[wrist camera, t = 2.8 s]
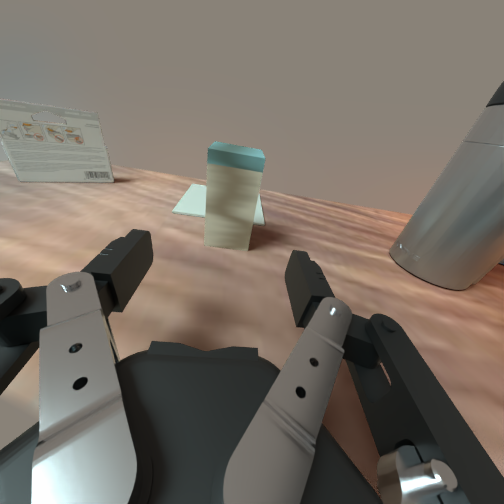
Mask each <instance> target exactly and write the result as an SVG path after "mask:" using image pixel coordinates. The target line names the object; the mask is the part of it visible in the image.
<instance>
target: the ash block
mask: <svg viewBox="0 0 504 504" xmlns="http://www.w3.org/2000/svg"><path fill="white" fill-rule="evenodd" d="M207 161H208V162H207V185H206V210H205V235H204V246H210V247H219V248H227V249H235V250H243V251H248V247H249V242H250V237H251V231H252V226H253V221H254V216H255V210H256V205H257V200H258V195H259V189H260V183H261V179H262V173H263V168H264V163H265V157H264V155H263V152H262V150H258V149H253V148H248V147H243V146H237V145H232V144H226V143H221V142H216V141H215V142H214V143H213V144H212V145H211V146H210V147H209V148H208V160H207Z"/></svg>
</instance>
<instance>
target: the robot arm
mask: <svg viewBox="0 0 504 504" xmlns="http://www.w3.org/2000/svg"><path fill="white" fill-rule="evenodd" d="M389 251H390V255H391V257H392V258H393V259H394V260H395V261H396V262H397V263H398V264H399V265H400V266H402V267H403V268H404V269H406V270H407V271H409V272H410V273H412V274H414V275H416V276H417V277H419V278H421V279H423V280H425V281H428V282H430V283H433V284H435V285H438V286H441V287H444V288H449V289H454V290H464V289H466V288H468V287H469V286H470V285H471V284H476V283H477V282H478V281H479V280H480V279H482V278H483V277H484V276H485V275H486V274H487V273H488V272H489V271H490V270H491V269H493V268H494V267H495V266H496V265H497V264H498V263H499V262H500V261H501V260H502V259H503V258H504V82H503V83H502V84H501V85H500V87H499V88H498V89H497V91H496V92H495V94H494V95H493V97H492V98H491V100H490V101H489V103H488V104H487V106H486V108H485V109H484V110H483V112H482V113H481V115H480V116H479V118H478V119H477V121H476V122H475V124H474V125H473V126H472V128H471V129H470V131H469V132H468V134H467V136H466V137H465V139H464V140H463V142H462V143H461V144H460V146H459V148H458V149H457V151H456V152H455V154H454V155H453V156H452V158H451V160H450V161H449V162H448V164H447V165H446V167H445V168H444V170H443V171H442V173H441V174H440V176H439V177H438V179H437V180H436V182H435V183H434V185H433V186H432V188H431V189H430V191H429V192H428V194H427V195H426V197H425V198H424V199H423V201H422V202H421V204H420V205H419V207H418V208H417V210H416V211H415V213H414V214H413V216H412V217H411V219H410V220H409V222H408V223H407V225H406V226H405V228H404V229H403V231H402V232H401V234H400V235H399V236H398V238H397V239H396V241H395V242H394V244H393V245H392V247H391V248H390V250H389ZM152 262H153V249H152V241H151V234H150V232H149V231H144V230H137V229H133V230H131V231H130V232H129V233H128V234H127V235H126V236H125V237H120V238H118V239H116V240H114V241H112V242H111V243H110V244H109V245H108V246H107V247H106V248H105V249H103V250H102V251H101V252H100V254H98V255H97V256H96V257H95V258H94V259H93V260H92V261H91V262H90V263H89V264H88V265H87V266H86V267H85V268H84V269H83V270H81V271H80V272H73V273H68V274H65V275H62V276H60V277H58V278H56V279H54V280H53V281H52V282H50V283H49V285H48V286H39V287H30V288H22V286H21V284H20V283H19V282H18V281H17V280H15V279H11V278H1V279H0V395H1V394H2V393H3V391H4V390H5V389H6V388H7V387H8V385H9V384H10V383H11V382H12V380H13V379H14V378H15V377H16V375H17V374H18V373H19V372H20V370H21V369H22V368H23V367H24V365H25V364H26V363H27V362H28V361H29V359H30V358H31V357H32V356H33V354H34V353H35V352H36V351H37V349H38V348H39V347H40V356H39V422H37V423H36V424H35V425H33V426H32V427H31V428H29V429H28V430H27V431H25V432H24V433H23V434H21V435H20V436H19V437H17V438H16V439H15V440H13V441H12V442H11V443H9V444H8V445H7V446H5V447H4V448H3V449H2V450H0V504H504V478H503V476H502V475H501V473H500V472H499V470H498V469H497V467H496V466H495V464H494V463H493V461H492V460H491V458H490V457H489V455H488V454H487V453H486V451H485V450H484V448H483V447H482V445H481V444H480V442H479V441H478V439H477V438H476V436H475V435H474V433H473V432H472V430H471V429H470V427H469V426H468V424H467V423H466V422H465V420H464V419H463V417H462V416H461V414H460V413H459V411H458V410H457V408H456V407H455V405H454V404H453V402H452V401H451V399H450V398H449V396H448V395H447V393H446V392H445V390H444V389H443V388H442V386H441V385H440V383H439V382H438V380H437V379H436V377H435V376H434V374H433V373H432V371H431V370H430V368H429V367H428V365H427V364H426V362H425V361H424V359H423V358H422V357H421V355H420V354H419V352H418V351H417V349H416V348H415V346H414V345H413V343H412V342H411V340H410V339H409V337H408V336H407V334H406V333H405V331H404V330H403V329H402V327H401V326H400V325H399V324H398V323H397V322H396V321H394V320H393V319H392V318H390V317H388V316H386V315H383V314H374V315H372V317H371V318H370V319H366V318H363V317H360V316H357V315H355V314H352V312H351V310H350V308H349V307H348V306H347V305H346V304H345V303H344V302H343V301H341V300H339V299H337V298H335V296H334V294H333V292H332V290H331V288H330V286H329V284H328V282H327V280H326V278H325V276H324V275H323V272H322V270H321V268H320V266H319V265H318V264H317V263H316V262H315V261H311V260H310V258H309V256H308V253H307V252H305V251H297V250H293V251H292V253H291V256H290V259H289V262H288V265H287V268H286V271H285V282H286V287H287V291H288V295H289V299H290V303H291V307H292V311H293V316H294V320H295V324H296V327H301V328H304V332H303V333H302V335H301V337H300V339H299V340H298V342H297V344H296V346H295V347H294V349H293V351H292V353H291V354H290V356H289V358H288V359H287V361H286V363H285V365H284V366H283V368H282V370H281V371H280V370H279V369H278V368H277V367H276V366H275V365H274V364H272V363H271V362H269V361H268V360H266V359H264V358H261V357H259V356H258V348H249V347H234V346H233V347H227V348H222V349H217V350H211V351H202V350H199V349H196V348H193V347H190V346H187V345H184V344H181V343H173V342H158V341H152V342H151V345H150V347H149V350H145V351H141V352H138V353H135V354H133V355H130V356H128V357H126V358H124V359H122V360H120V357H119V354H118V351H117V347H116V343H115V340H114V336H113V333H112V329H111V326H110V322H109V319H108V316H109V315H110V313H111V312H123V310H124V308H125V307H126V305H127V304H128V302H129V300H130V299H131V297H132V296H133V294H134V292H135V291H136V289H137V287H138V286H139V284H140V283H141V281H142V279H143V278H144V276H145V275H146V273H147V271H148V270H149V268H150V266H151V265H152ZM342 358H343V359H346V362H347V365H348V368H349V371H350V373H351V376H352V379H353V382H354V385H355V388H356V390H357V393H358V396H359V399H360V402H361V404H362V407H363V410H364V413H365V416H366V419H367V421H368V424H369V427H370V430H371V433H372V435H373V438H374V441H375V444H376V447H377V450H378V452H379V455H380V459H379V460H378V463H377V477H378V481H377V487H378V490H379V493H380V495H381V499H380V497H379V496H378V495H377V493H376V492H375V491H374V489H373V488H372V487H371V485H370V484H369V483H368V482H367V480H366V479H365V478H364V476H363V475H362V474H361V473H360V471H359V470H358V469H357V467H356V466H355V465H354V464H353V462H352V461H351V460H350V458H349V457H348V456H347V455H346V453H345V452H344V451H343V449H342V448H341V447H340V446H339V444H338V443H337V442H336V440H335V439H334V438H333V437H332V435H331V434H330V433H329V431H328V430H327V429H326V428H325V426H324V425H323V424H322V420H323V417H324V414H325V411H326V408H327V404H328V401H329V398H330V395H331V392H332V389H333V386H334V383H335V379H336V376H337V373H338V370H339V367H340V364H341V361H342ZM381 362H382V363H383V365H384V367H385V369H386V371H387V373H388V375H389V378H390V380H391V386H390V383H389V381H388V379H387V377H386V375H385V373H384V371H383V369H382V367H381V365H380V363H381Z"/></svg>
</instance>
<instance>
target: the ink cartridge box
mask: <svg viewBox="0 0 504 504" xmlns="http://www.w3.org/2000/svg"><path fill="white" fill-rule="evenodd" d="M42 111H48V112H51V113H53V114H55V115H57V116H59V117H61V118H63V119H65V121H66V124H62V123H52V122H45V121H36V120H33V118H32V115H33V114H36V113H39V112H42ZM0 138H1V140H2V142H1V144H2V147H3V149H4V151H5V153H6V155H7V157H8V159H9V161H10V163H11V165H12V168H13V170H14V172H15V174H16V176H17V178H18V180H19V181H20V182H76V183H113V182H114V177H113V172H112V168H111V163H110V158H109V153H108V149H107V147H106V146H105V144H104V140H103V135H102V130H101V126H100V122H99V117H98V113H97V112H91V111H84V110H77V109H69V108H63V107H56V106H49V105H42V104H35V103H27V102H21V101H14V100H7V99H0Z"/></svg>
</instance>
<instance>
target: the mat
mask: <svg viewBox="0 0 504 504" xmlns="http://www.w3.org/2000/svg"><path fill="white" fill-rule="evenodd" d="M205 210H206V186H204V185H198V184H192V185H191V186H190V188H189V189H188V190H187V192H186V193H185V195H184V196H183V197H182V199H181V200H180V201H179V203H178V204H177V205H176V207H175V208H174V209H173V211H172V213H176V214H183V215H190V216H198V217H205ZM253 224H255V225H262V226H264V224H265V223H264V218H263V212H262V206H261V201H260V195H258V200H257V205H256V210H255V216H254V221H253Z"/></svg>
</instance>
